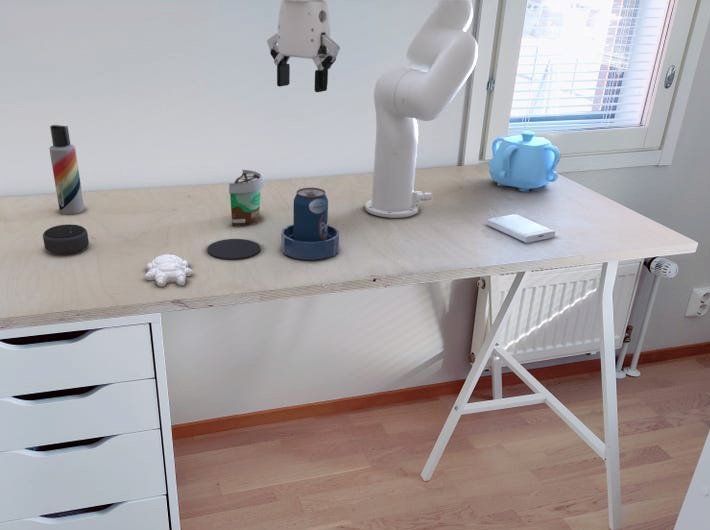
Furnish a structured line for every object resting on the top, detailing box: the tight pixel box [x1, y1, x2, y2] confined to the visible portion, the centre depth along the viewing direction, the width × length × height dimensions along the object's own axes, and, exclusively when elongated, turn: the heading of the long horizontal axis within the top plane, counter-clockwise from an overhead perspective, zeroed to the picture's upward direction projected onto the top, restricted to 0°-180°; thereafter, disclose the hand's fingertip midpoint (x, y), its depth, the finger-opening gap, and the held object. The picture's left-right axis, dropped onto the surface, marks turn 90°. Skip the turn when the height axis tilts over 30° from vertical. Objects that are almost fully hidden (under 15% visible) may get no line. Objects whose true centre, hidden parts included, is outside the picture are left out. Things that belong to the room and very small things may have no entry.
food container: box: [228, 169, 265, 227], centre depth 161 cm, size 12×6×10 cm, turn 168°
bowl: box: [280, 224, 340, 261], centre depth 146 cm, size 12×12×4 cm
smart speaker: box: [42, 223, 90, 256], centre depth 147 cm, size 9×9×4 cm
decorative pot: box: [488, 130, 561, 192], centre depth 184 cm, size 16×16×14 cm
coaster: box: [206, 238, 261, 261], centre depth 147 cm, size 11×11×1 cm
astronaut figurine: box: [144, 254, 193, 288], centre depth 136 cm, size 9×12×3 cm
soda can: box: [292, 187, 329, 242], centre depth 144 cm, size 7×7×12 cm
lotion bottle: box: [49, 124, 85, 215], centre depth 164 cm, size 6×6×20 cm
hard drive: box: [486, 213, 556, 244], centre depth 157 cm, size 2×8×12 cm
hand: (301, 88), depth 142 cm, fingers open, 9 cm apart
